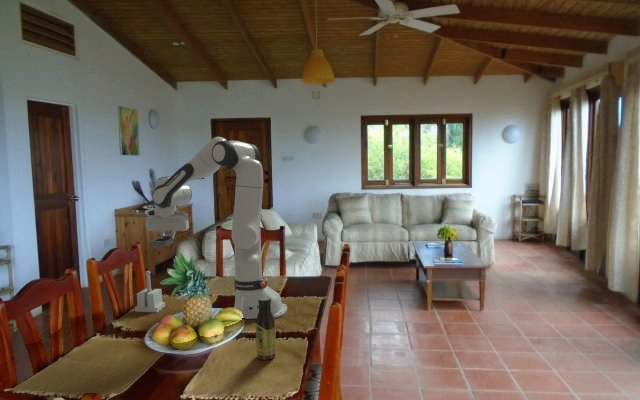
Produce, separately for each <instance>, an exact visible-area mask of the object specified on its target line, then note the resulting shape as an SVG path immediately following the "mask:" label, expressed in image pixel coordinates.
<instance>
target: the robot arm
mask: <svg viewBox="0 0 640 400" xmlns="http://www.w3.org/2000/svg"><path fill="white" fill-rule="evenodd" d="M221 167H223V168H225V169H227V170H229V171H231V170H234V171H235V174H236V176H235V177H236V180H235V190H234V192H235V195H234V206H233V214H232V225H231V240H232V242H233V244H234V277H235V278H234V282H233V283H234V284H233V285H234V287H233V288H234V292H235V299H234V307H233V309H234V308H237V309H239V310H240V311H241V312H242V314H243V316H244V318H245V319H244V320H250V319H257V316H258V313H259V303H258V299H259V298H260V297H263V296H268V297H270V298H271V303H270V304H271V313H272V314H273V316H274V318H279V317H282V316H284V315H285V313H287V311H288V306H287V304H286V303H283V302H282V298H281V295H280V294H279V293H278V292H277V291H276V290H274V289H273V288H271V287H270V286H268V278H265V277H264V276H263V272H262V271H263V270H262V269H263V268H262V266H263V265H262V242H261V241H262V240H261V239H262V237H261V235H262V234H261V232H262V231H261V219H262V208H263V207H262V206H263V193H264V170H263V165H262V163H261V161H260V151H259V148H258V147H257V146H256V145H255V144H252V143H250V142H244V141H240V140H227V139H226V138H224V137H222V136H215V137H213V138H212V139H210V140H209V141H208V142H206V144H205V145H204V146H203V147H202V148H201V149H200V150H199V151H198V152H197V153H196V154H195V155H194V156H193V157H192V158H191V159H190V160H188V161H187V162H186V163H185V164H183V166H181V167H180V168H178V169H177V170H176V171H175V172H174V173H173V174H172V175H171V176H162V177H158V178H157V179H156V181H155V186H154V187H155V188H154V190H153V191H152V201H153V202H154V204H155V205H156V207H155V208H153V209H150V210H148V211H146V216H147V217H146V218H145V228H146V230H147V232H159V233H160V236H161V238H163V236H165V235H166V234H165V233H166V232H171V233H170V234H172V236H170V238H174V239H175V235H176V234H177V232H186V231H189V228H190V224H189V223H190V221H189V214H188V212H187V211H184V210H182V211H181V210H177V206H181V205H182V206H183V205H186V204H188V203H190V202H191V200H192V196H193V193H192V189H191V187H190V186H189V185H188V183H189V182H192V181H195V180H198V179H203V178H208V177H210V176H212V175H214V174H215V173H216V172H217V171H218V170H219V169H221Z"/></svg>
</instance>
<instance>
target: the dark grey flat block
mask: <svg viewBox="0 0 640 400" xmlns="http://www.w3.org/2000/svg"><path fill="white" fill-rule="evenodd" d="M170 236H172V233H168V234H165V236H163V237H158V238H155V239H152V240H149V241H148V245H149V247H167V246H169V245H172V244H173V243H174V244H175V237H174V238H170Z"/></svg>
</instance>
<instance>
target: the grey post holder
mask: <svg viewBox="0 0 640 400" xmlns="http://www.w3.org/2000/svg"><path fill="white" fill-rule="evenodd" d="M144 275H145V277H146V278H145V279H146V288H144V289H143V290H141V291H139V292H138V293H136V301H137V306H135V307H134V308H135V309H134V310H135V312H136V313H158V312H160V311H161V310H163V309H164V308H165V307H166V302H165V301H163V295H162V294H163V293H162V288H154V289H152V284H151V271H150V270H146V271H145V272H144ZM163 307H164V308H163ZM162 308H163V309H162ZM159 310H160V311H159Z"/></svg>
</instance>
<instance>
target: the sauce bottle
mask: <svg viewBox="0 0 640 400" xmlns="http://www.w3.org/2000/svg"><path fill="white" fill-rule="evenodd" d="M258 303H259V313H258V316H257V318H255V319H256V321H255V341H256V342H255V343H256V354H257V355H256V356H257V358H258V359H260V360H262V361H266V360H271V359H274V358H275V357H276V354H277V353H276V350H277V345H276V343H277V341H276V325H275V324H276V322H275V320H276V319H275V317H274V316H273V314H272V313H271V304H270V303H271V298H270V297H268V296H263V297H260V298H259V299H258Z"/></svg>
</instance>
